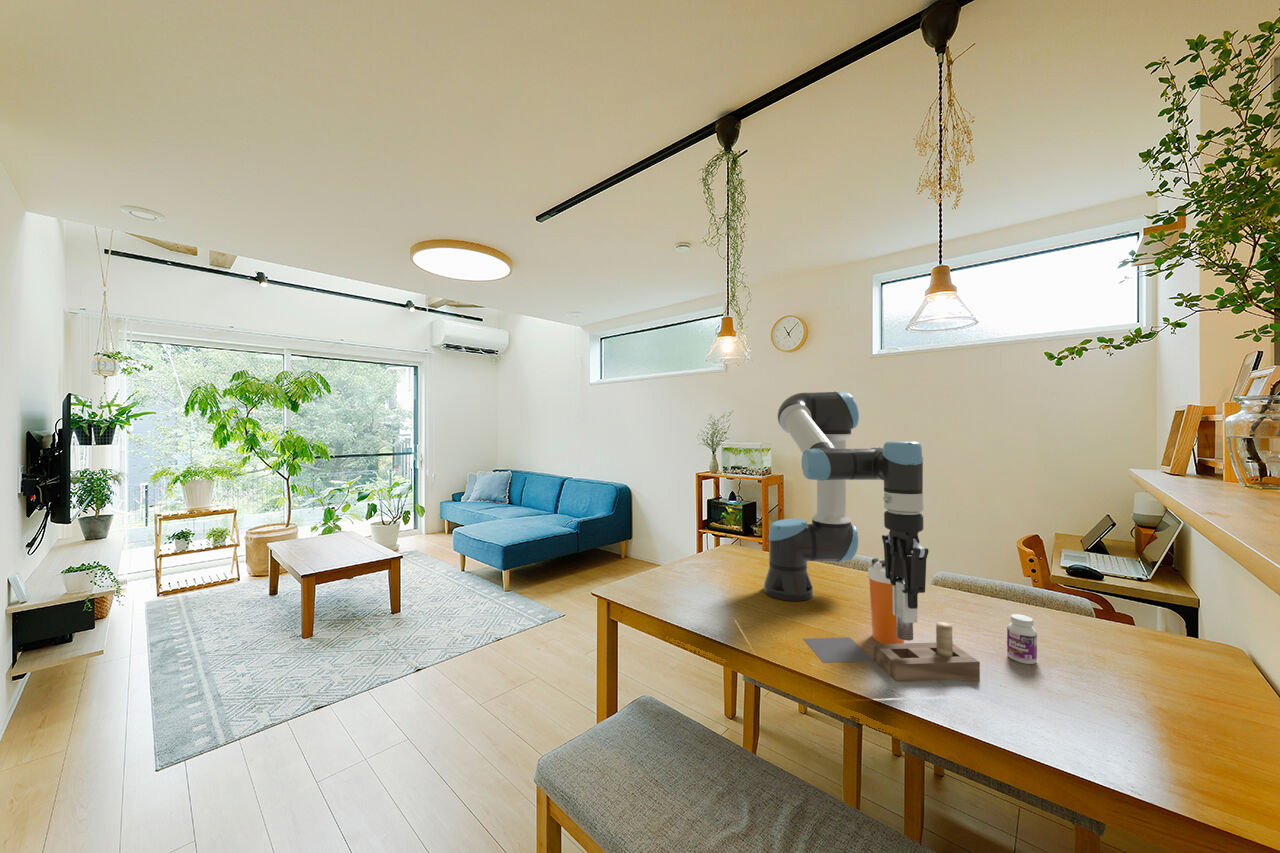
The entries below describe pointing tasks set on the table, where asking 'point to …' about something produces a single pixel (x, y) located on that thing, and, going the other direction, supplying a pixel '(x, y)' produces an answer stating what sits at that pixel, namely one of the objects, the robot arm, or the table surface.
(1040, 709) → the table surface
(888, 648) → the hole block
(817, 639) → the mat
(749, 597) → the table surface
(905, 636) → the peg
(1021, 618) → the pill bottle
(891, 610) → the shaker bottle
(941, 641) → the dowel
